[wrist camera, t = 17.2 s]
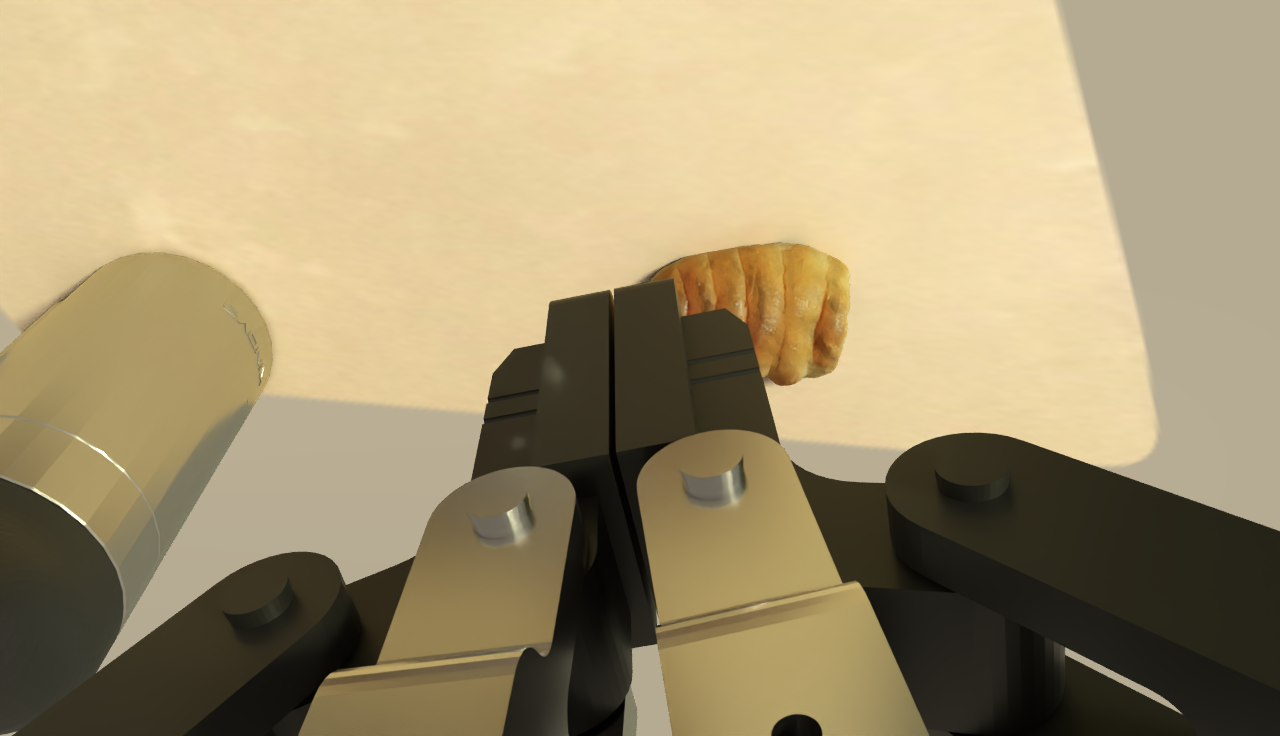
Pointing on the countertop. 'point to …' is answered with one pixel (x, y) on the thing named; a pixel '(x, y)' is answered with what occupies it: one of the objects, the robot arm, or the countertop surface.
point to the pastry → (773, 302)
